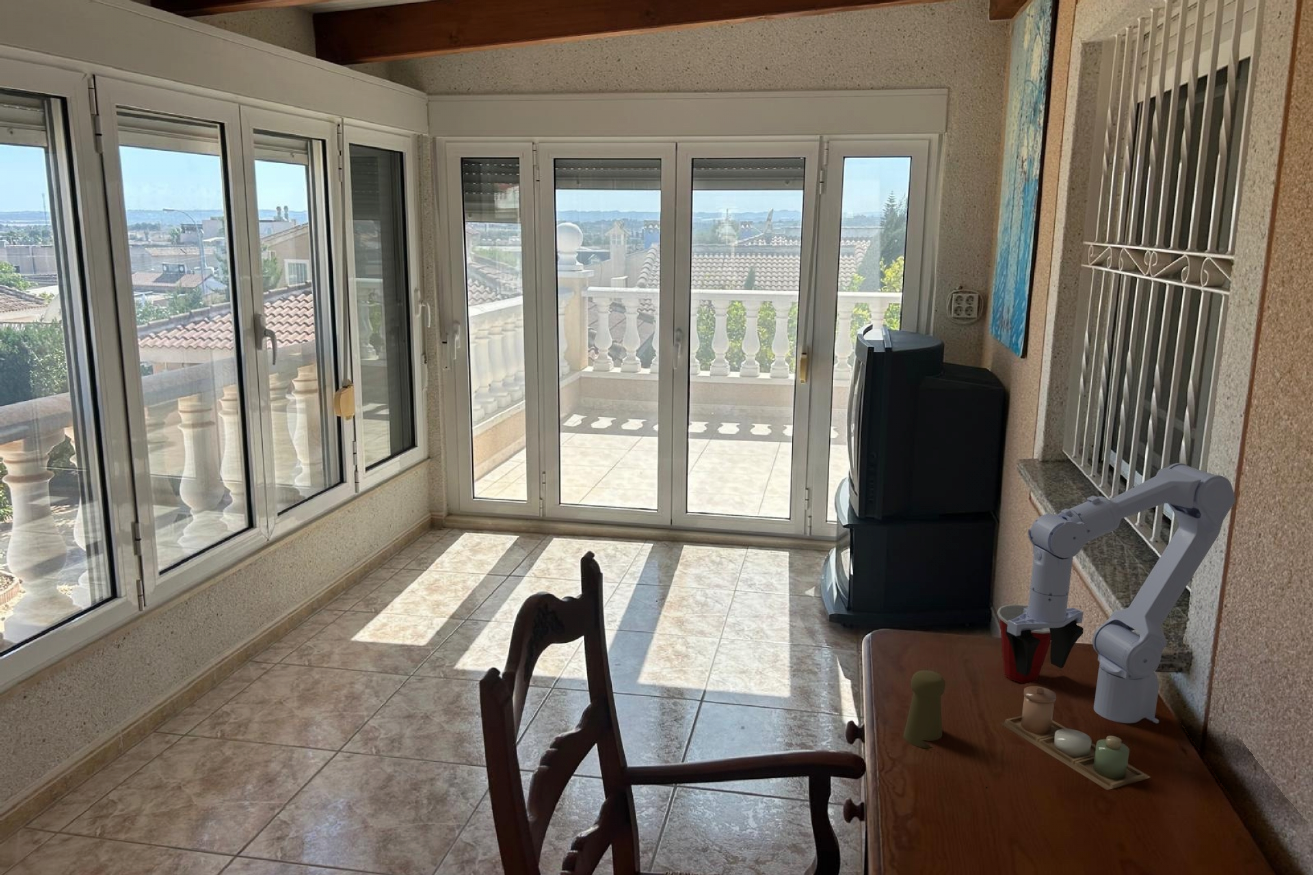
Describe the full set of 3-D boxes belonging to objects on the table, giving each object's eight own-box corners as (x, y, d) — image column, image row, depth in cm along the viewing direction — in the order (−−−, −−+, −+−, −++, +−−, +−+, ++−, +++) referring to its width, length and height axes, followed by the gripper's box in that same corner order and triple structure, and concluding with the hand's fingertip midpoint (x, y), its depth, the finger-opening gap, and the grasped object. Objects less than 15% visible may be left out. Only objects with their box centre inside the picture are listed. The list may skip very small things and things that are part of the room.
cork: (944, 750, 153) (950, 684, 150) (903, 745, 154) (909, 679, 152) (941, 731, 158) (947, 667, 156) (902, 726, 160) (908, 663, 157)
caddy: (1040, 720, 163) (1041, 710, 163) (1149, 784, 145) (1151, 773, 144) (999, 729, 160) (1000, 720, 159) (1106, 797, 141) (1107, 786, 141)
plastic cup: (1024, 695, 172) (1032, 631, 170) (977, 671, 181) (984, 609, 179) (1066, 683, 177) (1074, 621, 175) (1018, 660, 187) (1025, 600, 184)
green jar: (1107, 761, 149) (1111, 729, 148) (1132, 775, 145) (1137, 743, 144) (1086, 767, 147) (1091, 734, 146) (1111, 781, 143) (1116, 749, 142)
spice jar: (1034, 717, 162) (1039, 678, 160) (1058, 731, 157) (1063, 691, 156) (1013, 723, 159) (1018, 684, 158) (1036, 737, 155) (1042, 696, 154)
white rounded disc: (1070, 737, 155) (1072, 726, 155) (1097, 753, 151) (1099, 741, 150) (1046, 744, 153) (1047, 732, 153) (1072, 760, 149) (1074, 748, 148)
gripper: (1062, 576, 163) (1052, 652, 166) (996, 587, 157) (988, 666, 160) (1097, 590, 157) (1087, 669, 160) (1030, 602, 151) (1021, 684, 154)
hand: (1040, 669), depth 160 cm, fingers open, 7 cm apart
